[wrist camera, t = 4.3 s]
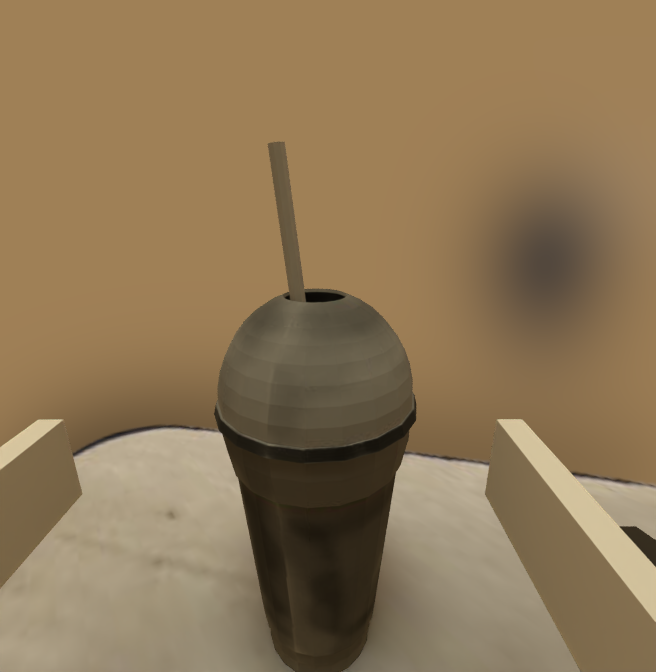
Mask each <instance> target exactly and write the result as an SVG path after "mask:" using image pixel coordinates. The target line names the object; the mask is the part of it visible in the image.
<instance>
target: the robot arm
mask: <svg viewBox="0 0 656 672" xmlns="http://www.w3.org/2000/svg"><path fill="white" fill-rule="evenodd" d="M81 495H82V490H81V487H80V483H79V479H78V475H77V471H76V467H75V463H74V459H73V455H72V451H71V448H70V443H69V440H68V436H67V432H66V428H65V424H64V420H37V421H36V422H35V423H33V424H32V425H30V426H29V427H28V428H26V429H25V430H24V431H22V432H21V433H19V434H18V435H17V436H16V437H14V438H13V439H11V440H10V441H8V442H7V443H6V444H4V445H3V446H2V447H0V588H1V587H2V586H3V585H4V584H5V582H6V581H7V580H8V579H9V578H10V577H11V576H12V574H13V573H14V572H15V571H16V570H17V569H18V567H19V566H20V565H21V564H22V563H23V562H24V561H25V559H26V558H27V557H28V556H29V555H30V554H31V552H32V551H33V550H34V549H35V548H36V547H37V546H38V544H39V543H40V542H41V541H42V540H43V539H44V537H45V536H46V535H47V534H48V533H49V532H50V531H51V529H52V528H53V527H54V526H55V525H56V524H57V522H58V521H59V520H60V519H61V518H62V517H63V516H64V514H65V513H66V512H67V511H68V510H69V509H70V507H71V506H72V505H73V504H74V503H75V502H76V501H77V499H78V498H79V497H80V496H81ZM485 495H486V497H487V499H488V500H489V502H490V504H491V506H492V508H493V510H494V512H495V513H496V515H497V517H498V519H499V521H500V523H501V525H502V526H503V528H504V530H505V532H506V534H507V536H508V538H509V539H510V541H511V543H512V545H513V547H514V549H515V550H516V552H517V554H518V556H519V558H520V560H521V562H522V563H523V565H524V567H525V569H526V571H527V573H528V575H529V576H530V578H531V580H532V582H533V584H534V586H535V588H536V589H537V591H538V593H539V595H540V597H541V599H542V601H543V602H544V604H545V606H546V608H547V610H548V612H549V614H550V615H551V617H552V619H553V621H554V623H555V625H556V626H557V628H558V630H559V632H560V634H561V636H562V638H563V639H564V641H565V643H566V645H567V647H568V649H569V651H570V652H571V654H572V656H573V658H574V660H575V662H576V664H577V665H578V667H579V669H580V671H581V672H656V540H655V539H653V538H652V537H650V536H649V535H647V534H646V533H644V532H643V531H642V530H640V529H639V528H637V527H619V526H618V525H617V524H616V523H615V522H614V520H613V519H612V518H611V517H610V516H609V515H608V514H607V513H606V512H605V510H604V509H603V508H602V507H601V506H600V505H599V504H598V503H597V502H596V501H595V499H594V498H593V497H592V496H591V495H590V494H589V493H588V492H587V491H586V489H585V488H584V487H583V486H582V485H581V484H580V483H579V482H578V481H577V480H576V478H575V477H574V476H573V475H572V474H571V473H570V472H569V471H568V470H567V468H566V467H565V466H564V465H563V464H562V463H561V462H560V461H559V460H558V459H557V457H556V456H555V455H554V454H553V453H552V452H551V451H550V450H549V449H548V447H547V446H546V445H545V444H544V443H543V442H542V441H541V440H540V439H539V438H538V437H537V435H536V434H535V433H534V432H533V431H532V430H531V429H530V428H529V427H528V425H527V424H526V423H525V422H524V421H523V420H522V419H497V420H496V426H495V433H494V439H493V446H492V452H491V459H490V465H489V472H488V478H487V485H486V491H485Z"/></svg>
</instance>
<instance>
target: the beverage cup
mask: <svg viewBox="0 0 656 672" xmlns="http://www.w3.org/2000/svg"><path fill="white" fill-rule="evenodd" d="M268 148H269V156H270V162H271V169H272V177H273V183H274V190H275V197H276V204H277V211H278V218H279V224H280V231H281V238H282V245H283V251H284V259H285V266H286V273H287V280H288V286H289V292H287V293H285V294H283V295H280V296H278V297H275V298H273V299H272V300H270V301H268V302H267V303H266V304H264V305H263V306H261V307H260V308H258V309H257V310H255V311H254V312H253V313H252V314H251V315H250V316H249V317H248V318H247V319H246V320H245V321H244V322H243V324H242V325H241V327H240V328H239V330H238V331H237V332H236V334H235V336H234V338H233V340H232V342H231V344H230V346H229V348H228V350H227V353H226V355H225V357H224V360H223V364H222V367H221V370H220V375H219V382H218V400H217V403H216V407H215V413H214V415H215V418H216V421H217V425H218V429H219V431H220V432H221V433H222V434H223V437H224V441H225V444H226V447H227V450H228V453H229V456H230V459H231V462H232V465H233V468H234V471H235V474H236V476H237V477H238V479H239V484H240V489H241V494H242V499H243V504H244V509H245V514H246V519H247V524H248V529H249V534H250V539H251V544H252V549H253V554H254V559H255V564H256V569H257V574H258V579H259V584H260V589H261V594H262V599H263V604H264V609H265V613H266V617H267V621H268V624H269V627H270V629H271V636H272V639H273V643H274V646H275V650H276V651H277V653H278V654H279V656H280V657H281V659H282V660H283V661H284V663H285V664H286V665H288V666H289V667H291V668H292V669H293V670H295V671H296V672H340V671H342V670H344V669H346V668H348V667H349V666H350V665H351V664H352V663H353V662H354V661H355V659H356V658H357V657H358V656H359V655H360V653H361V651H362V649H363V647H364V644H365V642H366V640H367V632H368V627H369V622H370V620H371V618H372V614H373V608H374V602H375V596H376V590H377V583H378V577H379V571H380V565H381V559H382V553H383V547H384V541H385V535H386V529H387V523H388V517H389V511H390V505H391V499H392V493H393V487H394V481H395V475H396V471H397V470H398V468H399V467H400V465H401V462H402V458H403V455H404V452H405V449H406V445H407V442H408V438H409V429H410V428H411V427H412V425H413V424H414V422H415V421H416V401H415V395H414V394H413V392H412V374H411V369H410V363H409V361H408V358H407V355H406V352H405V349H404V347H403V346H402V343H401V342H400V340H399V338H398V336H397V335H396V333H395V332H394V331H393V329H392V328H391V327H390V325H389V324H388V323H387V322H386V320H385V319H384V318H383V317H382V316H381V315H380V314H379V313H378V312H377V311H376V310H375V309H374V308H373V307H371V306H370V305H368V304H367V303H365V302H363V301H362V300H360V299H358V298H356V297H354V296H351V295H349V294H346V293H344V292H341V291H337V290H330V289H304V284H303V276H302V269H301V262H300V254H299V246H298V239H297V232H296V224H295V218H294V217H295V216H294V209H293V202H292V195H291V186H290V179H289V171H288V165H287V156H286V149H285V142H274V143H268Z"/></svg>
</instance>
